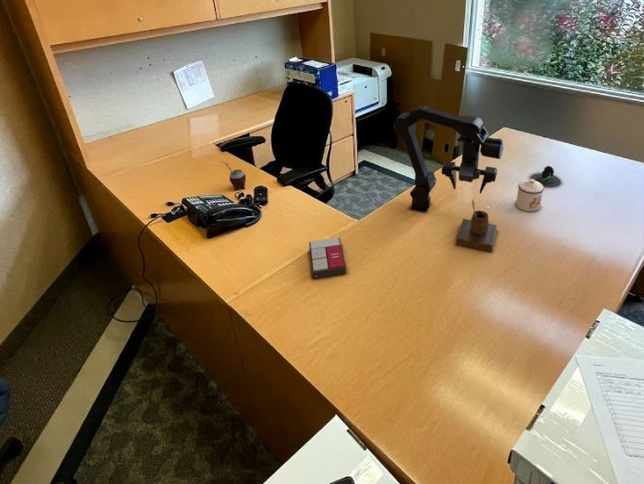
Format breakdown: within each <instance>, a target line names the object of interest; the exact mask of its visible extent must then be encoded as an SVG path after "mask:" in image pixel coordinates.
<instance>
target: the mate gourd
mask: <svg viewBox="0 0 644 484" xmlns="http://www.w3.org/2000/svg"><path fill="white" fill-rule="evenodd" d="M219 162H221V163H223V164H225V165H226V167H227V168H228V169H229V170H230V173H229V177H228V178H229V182H230V183H231V185H232V187H233V190H234V191H238V190H239V189H241V190H245V189H246V187H245V185H246V180H247V177H246V176H247V175H246V174H245V172H244V170H242V169H235V170H234V169H232V168H231V167H230V164H229V163H227V162H226V161H224V160H219Z"/></svg>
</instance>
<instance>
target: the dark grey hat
mask: <svg viewBox="0 0 644 484" xmlns="http://www.w3.org/2000/svg"><path fill="white" fill-rule="evenodd" d="M554 173H555V170H554V168H553V167H552V166H551V165H547V166H545V167H544V168H543V170H542V172H540V173H539V172H538V173H534V174H532V175H531V176H530V177H529V180H530V179H534V180H535V181H537V182H539V183H541V184H542V185H543V187H544V188H557V187H559V186H560V185H561V184H562V181H561V179H560V178H559V177H558V176H556V175H555V174H554Z"/></svg>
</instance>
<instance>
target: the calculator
mask: <svg viewBox="0 0 644 484" xmlns="http://www.w3.org/2000/svg"><path fill="white" fill-rule="evenodd" d="M308 246H309V255H310V265H311V273H312V279H314V280H316V279H322V278H328V277H333V276H335V277H336V276H342V275H346V274H347V265H346V262H345V256H344V251H343V247H342V242H341V238H340V237H334V238H327V239H321V240H313V241H309V242H308ZM316 276H317V277H316Z"/></svg>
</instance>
